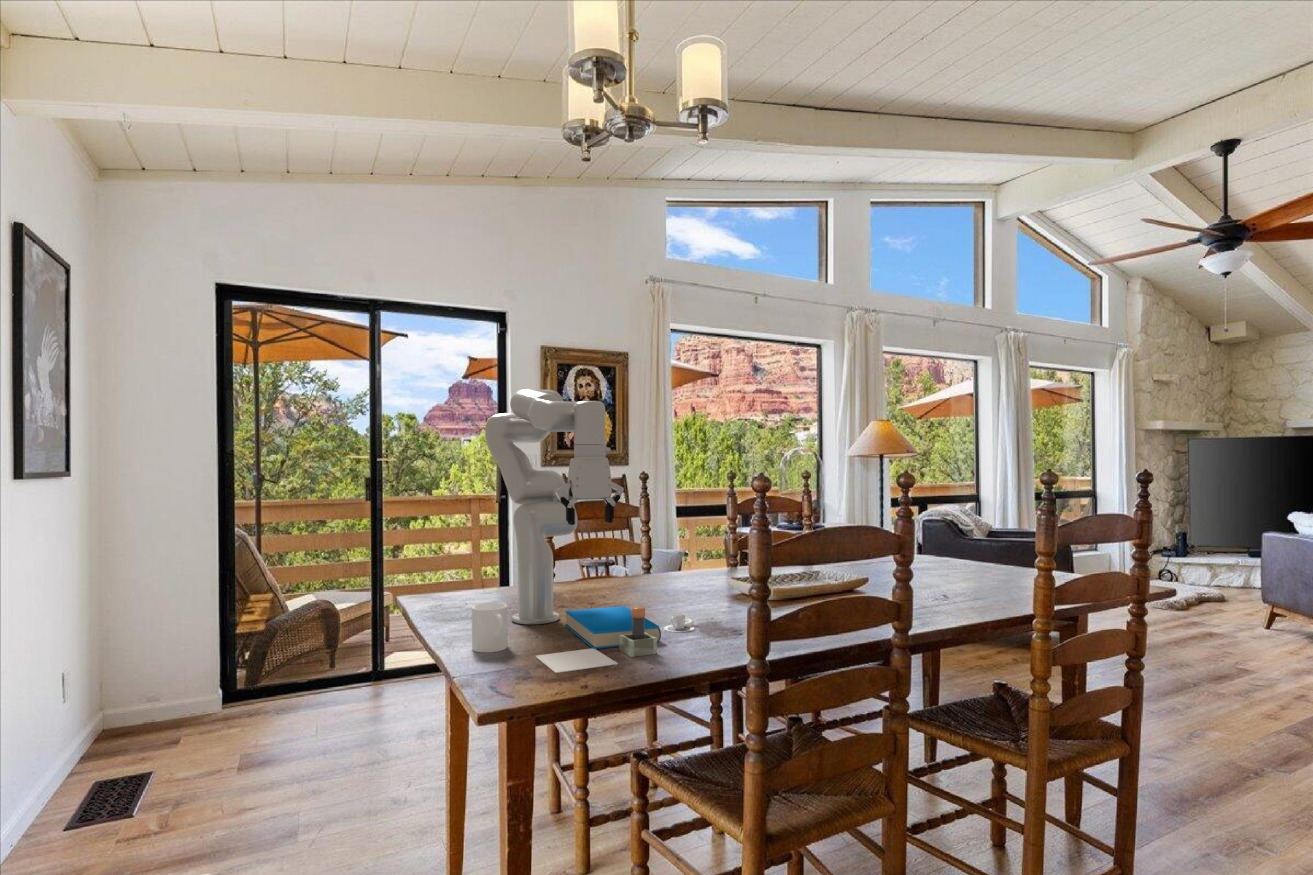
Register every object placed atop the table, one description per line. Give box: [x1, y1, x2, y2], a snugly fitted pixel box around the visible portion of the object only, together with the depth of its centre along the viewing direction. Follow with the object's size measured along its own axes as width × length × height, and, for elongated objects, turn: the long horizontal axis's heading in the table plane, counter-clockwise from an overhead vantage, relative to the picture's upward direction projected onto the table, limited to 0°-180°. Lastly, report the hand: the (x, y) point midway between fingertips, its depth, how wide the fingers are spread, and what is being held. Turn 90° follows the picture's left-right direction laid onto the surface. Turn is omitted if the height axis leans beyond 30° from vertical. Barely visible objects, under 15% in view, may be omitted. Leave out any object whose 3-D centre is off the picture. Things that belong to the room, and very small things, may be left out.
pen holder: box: [618, 632, 658, 658], centre depth 176 cm, size 6×6×4 cm
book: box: [564, 605, 662, 650], centre depth 193 cm, size 17×4×25 cm
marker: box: [630, 606, 646, 640], centre depth 176 cm, size 3×3×10 cm
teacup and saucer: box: [662, 612, 695, 633], centre depth 198 cm, size 9×8×4 cm
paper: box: [534, 647, 619, 674], centre depth 169 cm, size 14×14×1 cm
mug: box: [471, 602, 509, 654], centre depth 179 cm, size 8×12×10 cm, turn 32°
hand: (590, 523), depth 186 cm, fingers open, 9 cm apart
